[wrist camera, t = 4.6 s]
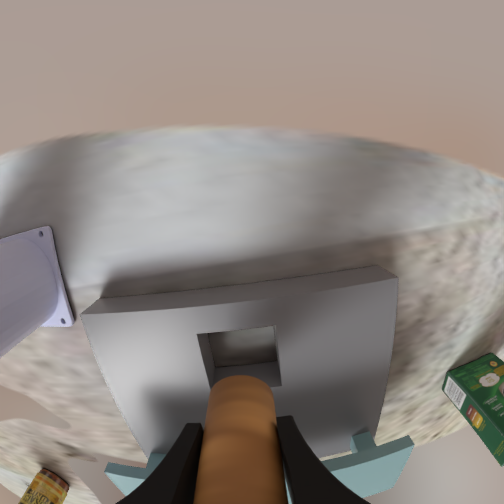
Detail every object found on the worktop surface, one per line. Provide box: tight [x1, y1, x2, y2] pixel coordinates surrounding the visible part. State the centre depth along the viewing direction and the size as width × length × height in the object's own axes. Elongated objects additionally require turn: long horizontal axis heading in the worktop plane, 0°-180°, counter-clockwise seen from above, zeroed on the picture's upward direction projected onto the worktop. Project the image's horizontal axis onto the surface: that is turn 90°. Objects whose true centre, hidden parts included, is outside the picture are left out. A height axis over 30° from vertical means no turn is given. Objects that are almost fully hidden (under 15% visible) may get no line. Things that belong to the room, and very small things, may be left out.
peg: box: [193, 375, 289, 504], centre depth 9 cm, size 3×3×8 cm
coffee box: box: [442, 353, 504, 467], centre depth 15 cm, size 8×3×13 cm, turn 95°
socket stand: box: [80, 265, 414, 504], centre depth 16 cm, size 20×16×8 cm
